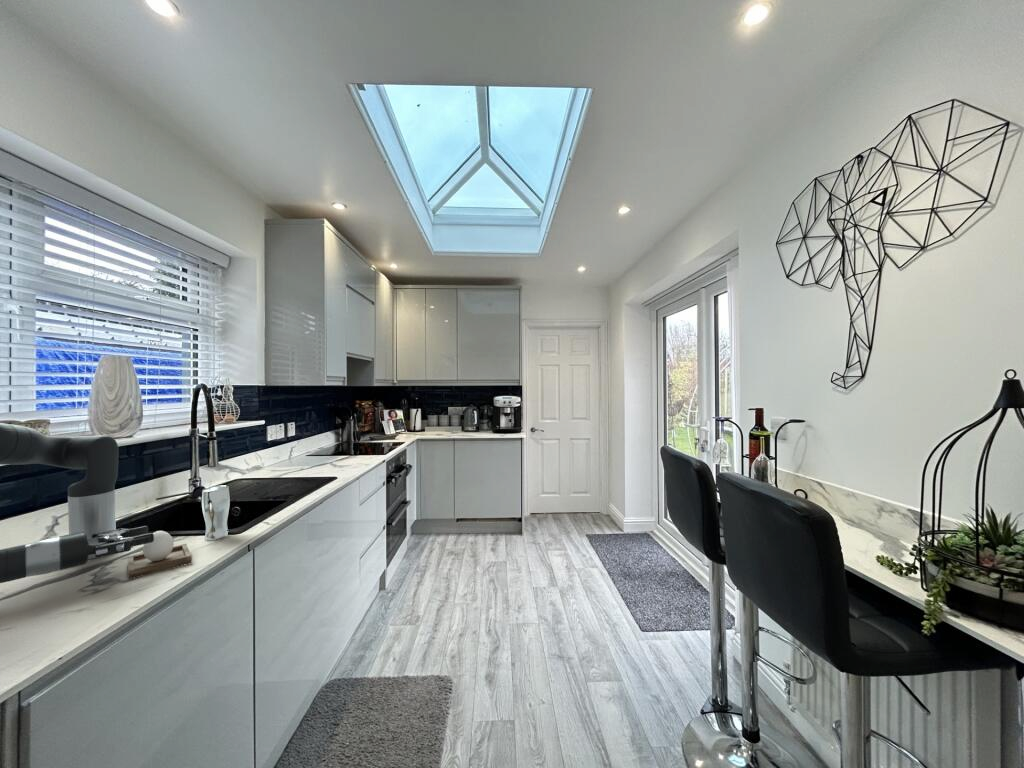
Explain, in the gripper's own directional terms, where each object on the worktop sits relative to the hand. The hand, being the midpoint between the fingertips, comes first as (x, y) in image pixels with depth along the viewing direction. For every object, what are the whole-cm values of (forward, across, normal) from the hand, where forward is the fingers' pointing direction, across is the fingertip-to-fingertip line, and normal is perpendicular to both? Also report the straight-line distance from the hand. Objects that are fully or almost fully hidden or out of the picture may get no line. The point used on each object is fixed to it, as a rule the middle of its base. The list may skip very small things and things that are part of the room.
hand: (150, 533), depth 106 cm
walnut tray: (+2, 0, +8) cm, 9 cm away
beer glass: (+17, +12, +9) cm, 22 cm away
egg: (+1, 0, +8) cm, 8 cm away
